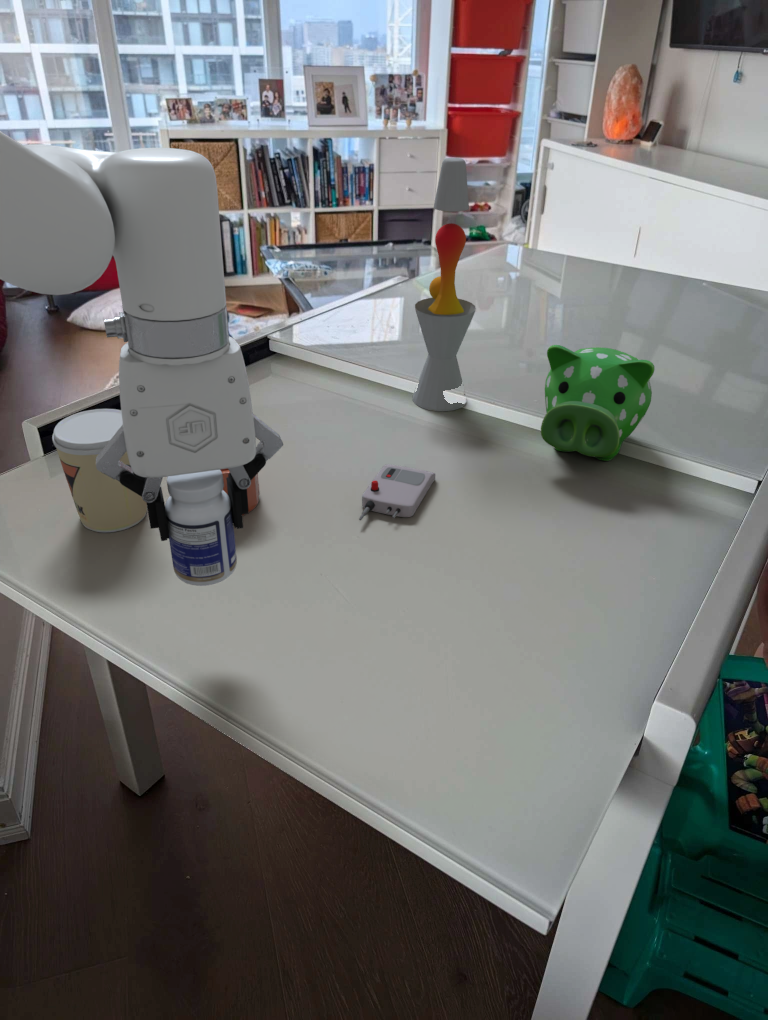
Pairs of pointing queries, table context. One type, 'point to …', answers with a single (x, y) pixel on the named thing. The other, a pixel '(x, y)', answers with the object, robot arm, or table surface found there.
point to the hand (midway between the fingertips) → (200, 524)
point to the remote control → (397, 491)
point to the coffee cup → (96, 471)
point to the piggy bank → (594, 399)
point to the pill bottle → (200, 528)
